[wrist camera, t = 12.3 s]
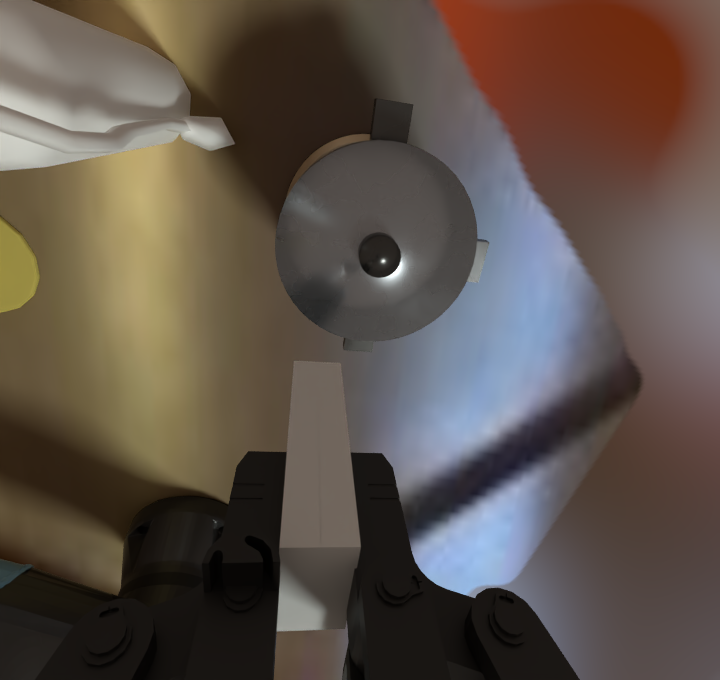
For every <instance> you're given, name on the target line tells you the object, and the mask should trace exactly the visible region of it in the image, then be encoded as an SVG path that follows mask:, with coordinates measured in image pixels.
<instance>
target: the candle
mask: <svg viewBox="0 0 720 680" xmlns="http://www.w3.org/2000/svg"><path fill="white" fill-rule="evenodd" d="M39 279H40V275H39V270H38V265H37V260H36V256H35V254H34V253H33V251H32V249H31V248H30V246H29V245H28V243H27V242H26V240H25V239H24V237H23V235H22V234H21V233H20V232H19V231H17V230H16V229H15V228H14V227H13V226H12V225H10V224H9V223H8V222H7V221H6V220H5V219H3V218H2V217H1V216H0V313H1V312H5V311H9V310H13V309H17V308H20V307H21V306H22V305H24V304H25V303H26V302H27V301H28V300H29V299H30V298H32V297H33V296H34V295H35V292H36V288H37V285H38V282H39Z"/></svg>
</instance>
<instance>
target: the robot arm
mask: <svg viewBox="0 0 720 680" xmlns="http://www.w3.org/2000/svg"><path fill="white" fill-rule="evenodd" d="M346 621H347V625H348V640H349V643H348V648H347V653H346V658H345V663H344V668H343V676H342V680H580V679H579V678H578V676H577V675H576V673H575V672H574V670H573V669H572V667H571V666H570V664H569V663H568V661H567V660H566V658H565V657H564V655H563V654H562V652H561V651H560V649H559V648H558V646H557V645H556V643H555V642H554V640H553V639H552V637H551V636H550V634H549V633H548V631H547V630H546V628H545V627H544V625H543V624H542V622H541V621H540V619H539V618H538V616H537V615H536V613H535V612H534V611H533V610H532V608H531V607H530V606H529V605H528V604H527V603H526V602H525V601H524V600H523V599H521V598H520V597H518V596H517V595H516V594H514V593H513V592H510V591H507V590H504V589H501V588H488V589H485V590H483V591H482V592H480V593H479V594H477V596H476V598H472V597H469V596H466V595H463V594H460V593H457V592H454V591H450V590H447V589H445V588H443V587H441V586H438V585H436V584H435V583H434V582H432V581H431V580H429V579H428V578H427V577H426V576H425V575H424V574H423V573H422V572H421V570H420V569H419V567H418V566H417V564H416V563H415V560H414V557H413V554H412V551H411V546H410V542H409V538H408V533H407V529H406V524H405V520H404V515H403V511H402V507H401V502H400V501H399V493H398V489H397V487H396V480H395V476H394V471H393V467H392V466H391V465H390V463H389V462H388V461H387V459H386V458H385V457H384V455H383V454H382V453H350V444H349V435H348V426H347V417H346V408H345V399H344V390H343V381H342V371H341V363H327V362H310V361H294V367H293V380H292V393H291V406H290V418H289V431H288V444H287V452H255V451H248V452H247V454H246V455H245V456H244V458H243V459H242V460H241V461H240V463H239V464H238V465H237V468H236V472H235V477H234V482H233V487H232V491H231V495H230V501H229V505H228V506H227V505H225V504H223V503H220V502H217V501H214V500H211V499H207V498H201V497H191V496H183V497H173V498H167V499H163V500H160V501H157V502H155V503H152V504H150V505H149V506H147V507H145V508H144V509H143V510H141V511H140V512H139V513H138V514H137V515H136V517H135V518H134V519H133V521H132V524H131V526H130V528H129V530H128V533H127V535H126V538H125V541H124V548H123V564H122V580H121V589H120V592H119V594H118V596H116V595H113V594H111V593H108V592H105V591H101V590H98V589H95V588H92V587H89V586H86V585H83V584H80V583H77V582H74V581H70V580H68V579H65V578H62V577H59V576H56V575H53V574H50V573H47V572H44V571H42V570H39V569H36V568H34V566H33V565H31V564H27V565H22V564H17V563H13V562H9V561H6V560H2V559H0V680H273V679H274V665H275V648H276V634H277V631H298V630H325V629H345V627H346Z"/></svg>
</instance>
